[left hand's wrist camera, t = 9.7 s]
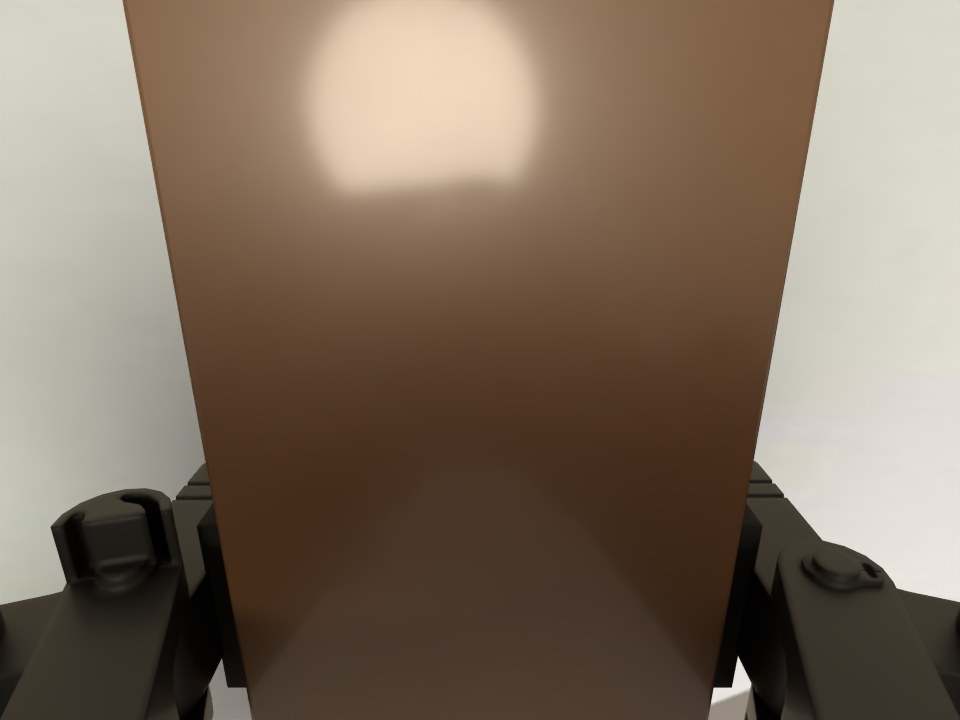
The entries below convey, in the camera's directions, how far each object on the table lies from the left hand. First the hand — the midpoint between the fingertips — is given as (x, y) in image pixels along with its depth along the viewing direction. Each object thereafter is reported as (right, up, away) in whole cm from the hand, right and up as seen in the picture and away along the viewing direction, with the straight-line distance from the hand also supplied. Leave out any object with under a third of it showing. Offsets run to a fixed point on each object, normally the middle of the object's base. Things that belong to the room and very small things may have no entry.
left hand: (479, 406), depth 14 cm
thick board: (0, +20, -7) cm, 21 cm away
